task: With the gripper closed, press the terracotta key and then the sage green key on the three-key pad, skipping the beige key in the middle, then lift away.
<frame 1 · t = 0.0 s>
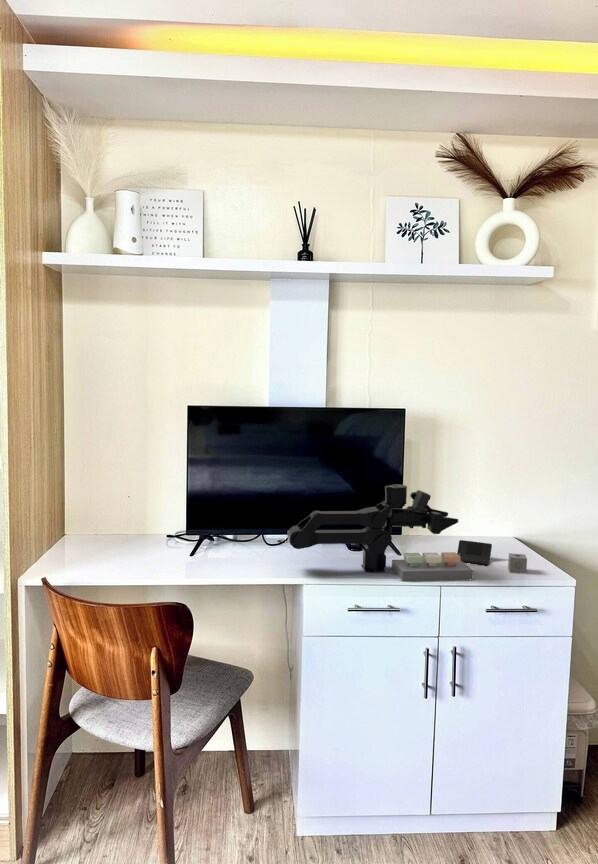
hand: (452, 517, 221), 17 cm above the table, tool horizontal, fingers open, 9 cm apart
keypad: (431, 574, 216), on the table
terracotta key: (450, 561, 216), point 4 cm above the table, slide at 0.0 cm
dice cube: (516, 571, 222), on the table
handheld gaming console: (472, 561, 232), on the table
sage key: (412, 562, 215), point 4 cm above the table, slide at 0.0 cm
beige key: (431, 562, 215), point 4 cm above the table, slide at 0.0 cm
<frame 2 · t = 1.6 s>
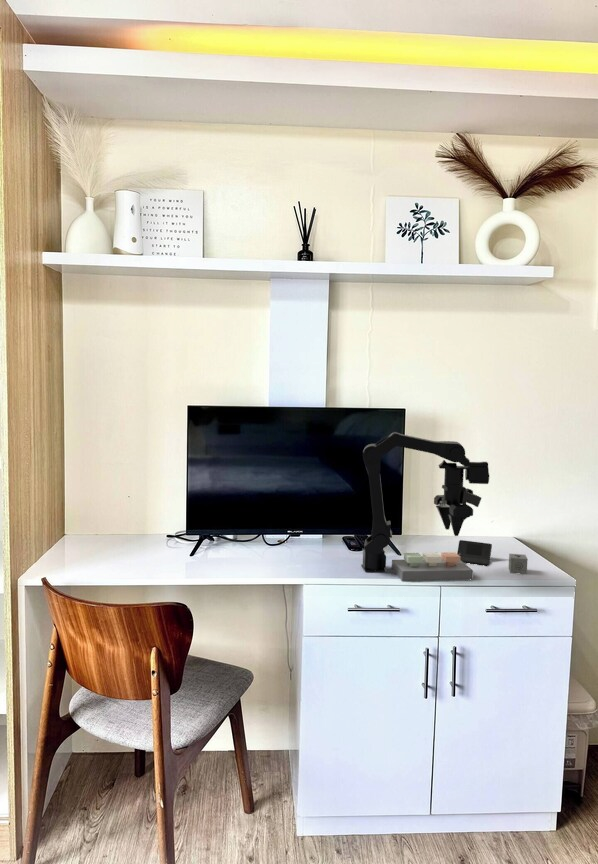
hand: (451, 532, 215), 13 cm above the table, tool pointing down, fingers open, 8 cm apart
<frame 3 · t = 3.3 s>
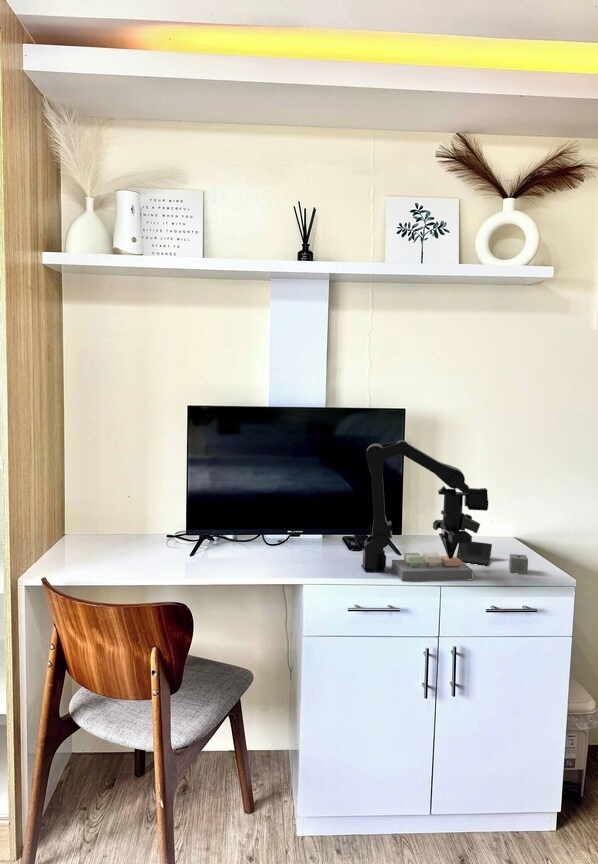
hand: (450, 558, 216), 5 cm above the table, tool pointing down, fingers closed, pressing on terracotta key
terracotta key: (450, 565, 216), point 3 cm above the table, slide at 1.2 cm, touching gripper
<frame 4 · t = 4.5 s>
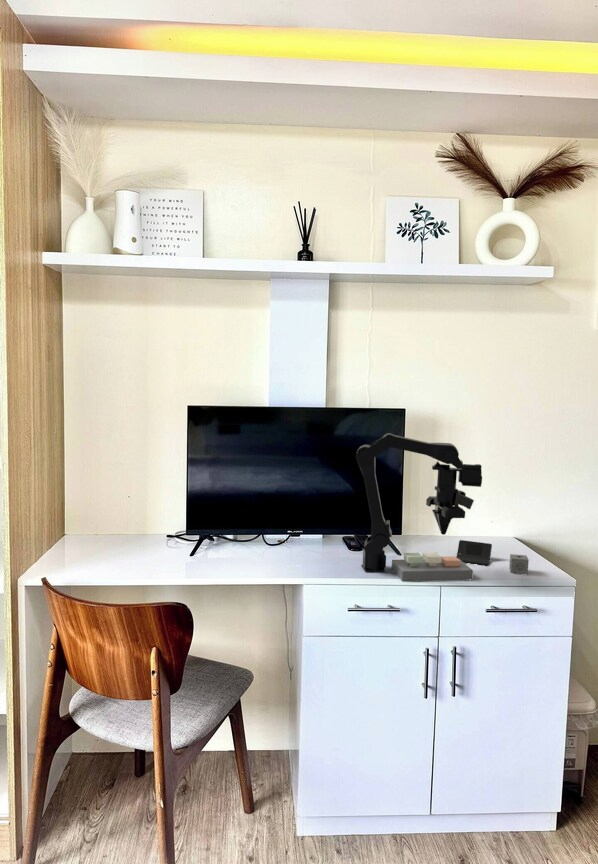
hand: (443, 534, 215), 13 cm above the table, tool pointing down, fingers closed
terracotta key: (450, 565, 216), point 3 cm above the table, slide at 1.3 cm
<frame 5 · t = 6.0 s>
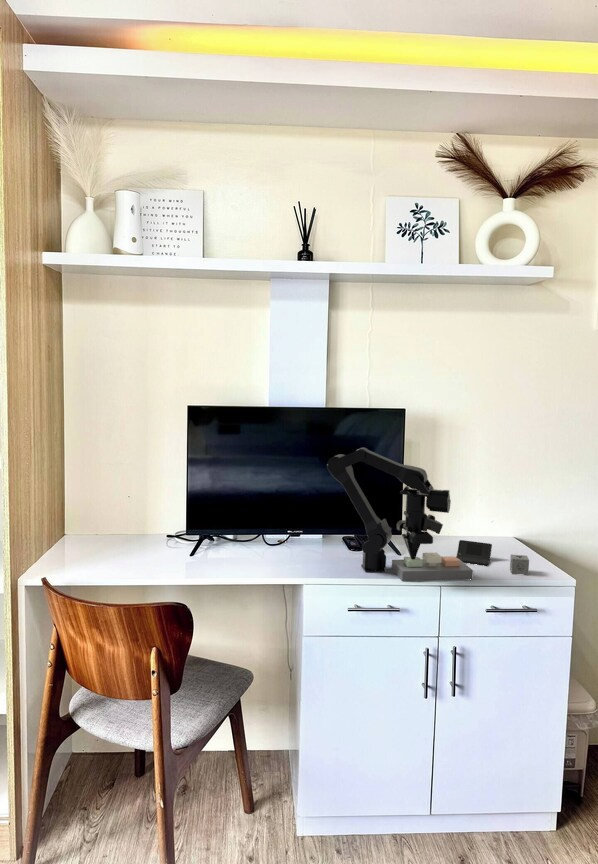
hand: (412, 559, 214), 5 cm above the table, tool pointing down, fingers closed, pressing on sage key
sage key: (412, 566, 215), point 3 cm above the table, slide at 1.3 cm, touching gripper
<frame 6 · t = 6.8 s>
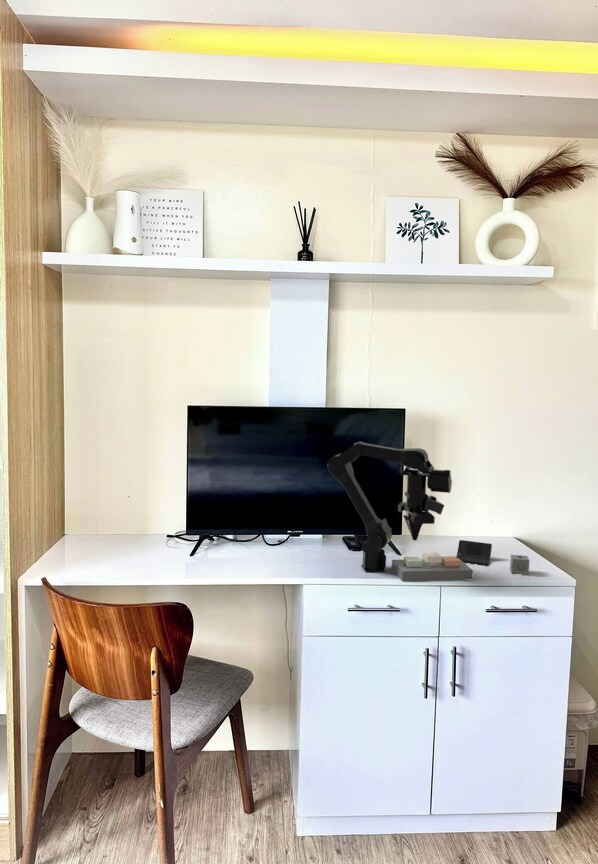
hand: (414, 540, 214), 11 cm above the table, tool pointing down, fingers closed
sage key: (412, 566, 215), point 3 cm above the table, slide at 1.3 cm
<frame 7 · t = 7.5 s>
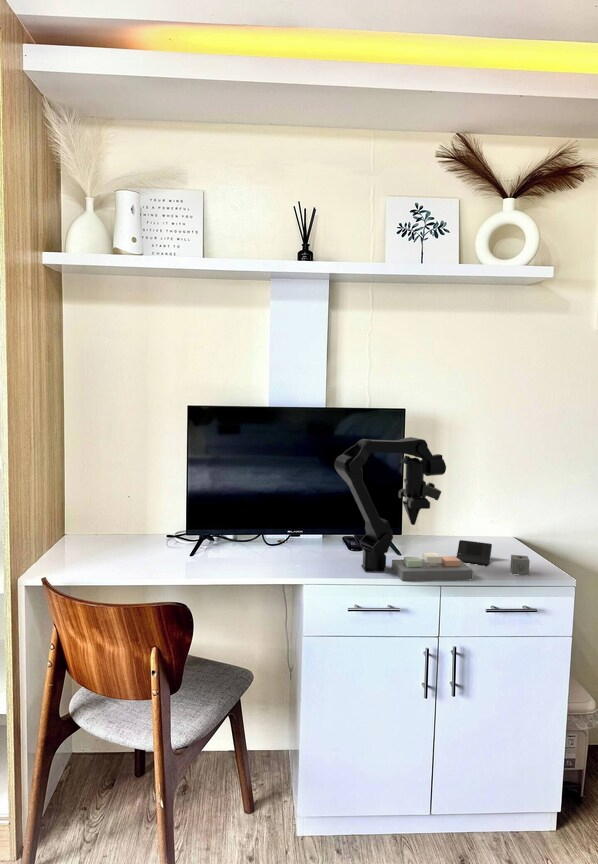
hand: (412, 524, 224), 13 cm above the table, tool pointing down, fingers closed
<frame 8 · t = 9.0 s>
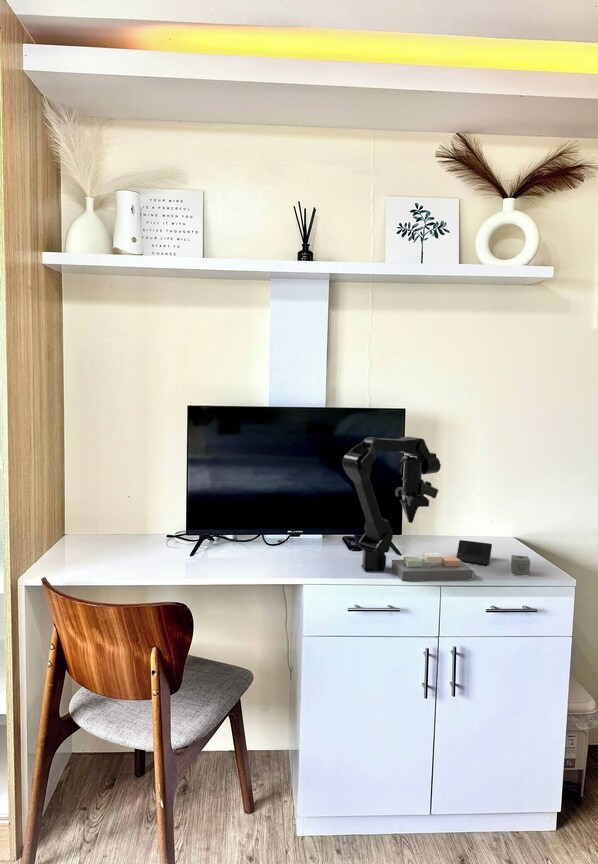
hand: (410, 522, 228), 13 cm above the table, tool pointing down, fingers closed
at the end: terracotta key slide at 1.3 cm; sage key slide at 1.3 cm; beige key slide at 0.0 cm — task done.
